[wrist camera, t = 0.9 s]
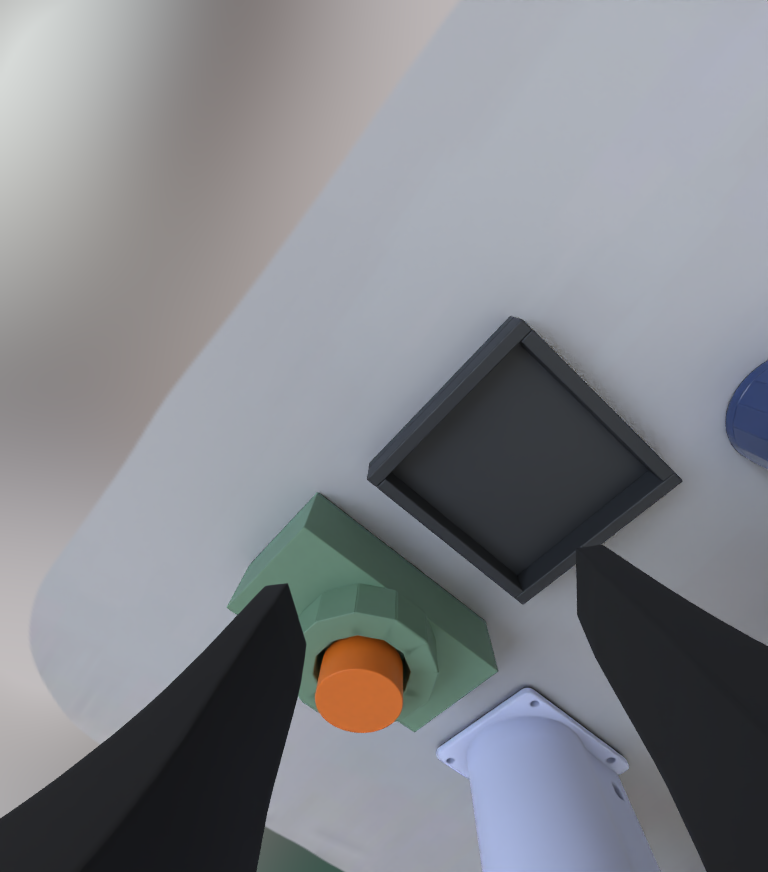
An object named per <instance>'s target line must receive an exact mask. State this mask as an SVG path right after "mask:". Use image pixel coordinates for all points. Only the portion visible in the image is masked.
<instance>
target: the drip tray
mask: <svg viewBox="0 0 768 872" xmlns="http://www.w3.org/2000/svg"><path fill="white" fill-rule="evenodd" d="M367 480H368V481H370V482H371V483H372V484H373V485H375V486H376V487H377V488H378V489H379V490H381V491H382V492H383V493H384V494H386V495H387V496H388V497H389V498H391V499H392V500H393V501H394V502H396V503H397V504H398V505H399V506H401V507H402V508H403V509H404V510H406V511H407V512H408V513H409V514H411V515H412V516H413V517H414V518H416V519H417V520H418V521H419V522H421V523H422V524H423V525H424V526H426V527H427V528H428V529H429V530H431V531H432V532H433V533H434V534H436V535H437V536H438V537H439V538H440V539H442V540H443V541H444V542H445V543H447V544H448V545H449V546H450V547H452V548H453V549H454V550H455V551H457V552H458V553H459V554H460V555H462V556H463V557H464V558H465V559H467V560H468V561H469V562H470V563H472V564H473V565H474V566H475V567H477V568H478V569H479V570H480V571H482V572H483V573H484V574H485V575H487V576H488V577H489V578H490V579H492V580H493V581H494V582H495V583H497V584H498V585H499V586H500V587H501V588H503V589H504V590H505V591H506V592H508V593H509V594H510V595H511V596H513V597H514V598H515V599H516V600H518V601H519V602H520V603H521V604H525V603H526V602H527V601H529V600H530V599H531V598H532V597H534V596H535V595H536V594H538V593H539V592H540V591H541V590H543V589H544V588H545V587H547V586H548V585H549V584H551V583H552V582H553V581H554V580H556V579H557V578H558V577H560V576H561V575H562V574H563V573H565V572H566V571H567V570H569V569H570V568H571V567H573V566H574V565H575V564H576V548H581V547H589V546H597V545H601V544H602V543H604V542H605V541H606V540H607V539H609V538H610V537H611V536H613V535H614V534H615V533H616V532H618V531H619V530H620V529H622V528H623V527H624V526H625V525H627V524H628V523H629V522H631V521H632V520H633V519H635V518H636V517H637V516H638V515H640V514H641V513H642V512H644V511H645V510H646V509H647V508H649V507H650V506H651V505H653V504H654V503H655V502H657V501H658V500H659V499H660V498H662V497H663V496H664V495H666V494H667V493H668V492H669V491H671V490H672V489H673V488H675V487H676V486H677V485H678V484H680V483H681V482H682V479H681V478H680V477H679V476H678V475H677V474H676V473H675V472H674V471H673V470H672V469H671V468H670V467H669V466H668V465H667V464H666V463H665V462H664V461H663V460H662V459H661V458H660V457H659V456H658V455H657V454H656V453H655V452H654V451H653V450H652V449H651V448H650V447H649V446H648V445H647V444H646V443H645V442H644V441H643V440H642V439H641V438H640V437H639V436H638V435H637V434H636V433H635V432H634V431H633V430H632V429H631V428H630V427H629V426H628V425H627V424H626V423H625V422H624V421H623V420H622V419H621V418H620V417H619V416H618V415H617V414H616V413H615V412H614V411H613V410H612V409H611V408H610V407H609V406H608V405H607V404H606V403H605V402H604V401H603V400H602V399H601V398H600V397H599V396H598V395H597V394H596V393H595V392H594V391H593V390H592V389H591V388H590V387H589V386H588V385H587V384H586V383H585V382H584V381H583V380H582V379H581V378H580V377H579V376H578V375H577V374H576V373H575V372H574V371H573V370H572V369H571V368H570V367H569V366H568V365H567V364H566V363H565V362H564V361H563V360H562V359H561V358H560V357H559V356H558V355H557V353H556V352H555V351H554V350H553V349H552V348H551V347H550V346H549V345H548V344H547V343H546V342H545V341H544V340H543V339H542V338H541V337H540V336H539V335H538V334H537V333H536V332H535V331H534V330H532V329H531V327H530V326H529V325H528V324H527V323H526V322H525V321H524V320H522V319H518V318H515V317H512V316H510V317H509V318H508V319H507V320H506V321H505V322H504V323H503V324H502V325H501V326H500V328H499V329H498V330H497V331H496V332H495V333H494V334H493V335H492V336H491V337H490V338H489V339H488V340H487V341H486V342H485V343H484V344H483V345H482V346H481V347H480V348H479V349H478V350H477V352H476V353H475V354H474V355H473V356H472V357H471V358H470V359H469V360H468V361H467V362H466V363H465V364H464V365H463V366H462V367H461V368H460V369H459V370H458V371H457V372H456V373H455V374H454V376H453V377H452V378H451V379H450V380H449V381H448V382H447V383H446V384H445V385H444V386H443V387H442V388H441V389H440V390H439V391H438V392H437V393H436V394H435V395H434V396H433V397H432V398H431V400H430V401H429V402H428V403H427V404H426V405H425V406H424V407H423V408H422V409H421V410H420V411H419V412H418V413H417V414H416V415H415V416H414V417H413V418H412V419H411V420H410V421H409V423H408V424H407V425H406V426H405V427H404V428H403V429H402V430H401V431H400V432H399V433H398V434H397V435H396V436H395V437H394V438H393V439H392V440H391V441H390V442H389V443H388V444H387V445H386V447H385V448H384V449H383V450H382V451H381V452H380V453H379V454H378V455H377V456H376V457H375V458H374V459H373V460H372V461H371V462H370V464H369V470H368V476H367Z"/></svg>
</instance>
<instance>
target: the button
mask: <svg viewBox="0 0 768 872" xmlns="http://www.w3.org/2000/svg"><path fill="white" fill-rule="evenodd" d="M315 703H316V707H317V709H318V711H319V713H320V714H321V716H322V717H323V718H324V719H325V720H326V721H327V722H329V723H330V724H332V725H334V726H335V727H337V728H340V729H342V730H346V731H350V732H356V733H367V732H374V731H378V730H381V729H383V728H385V727H387V726H389V725H390V724H392V723H393V722H394V721H395V720H396V719H397V718H398V716H399V715H400V713H401V711H402V707H403V664H402V660H401V657H400V655H399V653H398V652H397V651H396V649H395V648H394V647H393V646H392V645H390V644H389V643H387V642H386V641H384V640H380V639H375V638H370V637H364V636H359V635H357V636H353V637H348V638H344V639H340V640H337V641H335V642H334V643H333V644H331V645H330V646H329V647H328V649H327V650H326V651H325V653H324V656H323V659H322V664H321V668H320V673H319V678H318V683H317V688H316V693H315Z"/></svg>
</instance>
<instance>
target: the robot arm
mask: <svg viewBox="0 0 768 872" xmlns="http://www.w3.org/2000/svg"><path fill="white" fill-rule="evenodd" d="M576 577H577V615H578V618H579V620H580V623H581V625H582V628H583V630H584V632H585V635H586V637H587V640H588V642H589V644H590V646H591V649H592V651H593V653H594V656H595V658H596V660H597V661H598V663H599V665H600V667H601V669H602V670H603V672H604V674H605V676H606V678H607V679H608V681H609V683H610V685H611V687H612V688H613V690H614V692H615V694H616V695H617V697H618V699H619V701H620V702H621V704H622V706H623V708H624V709H625V711H626V713H627V715H628V716H629V718H630V720H631V722H632V724H633V725H634V727H635V729H636V731H637V732H638V734H639V736H640V738H641V739H642V741H643V743H644V745H645V746H646V748H647V750H648V752H649V753H650V755H651V757H652V759H653V761H654V762H655V764H656V766H657V768H658V770H659V772H660V774H661V776H662V778H663V780H664V781H665V783H666V785H667V787H668V789H669V791H670V794H671V796H672V798H673V800H674V802H675V804H676V806H677V808H678V811H679V813H680V815H681V817H682V819H683V821H684V823H685V826H686V828H687V830H688V832H689V834H690V836H691V838H692V841H693V843H694V845H695V847H696V849H697V851H698V854H699V856H700V858H701V860H702V863H703V865H704V867H705V869H706V871H707V872H768V646H766V645H764V644H762V643H761V642H759V641H757V640H755V639H753V638H751V637H749V636H748V635H746V634H744V633H742V632H741V631H739V630H737V629H735V628H734V627H732V626H730V625H728V624H727V623H725V622H723V621H721V620H720V619H718V618H716V617H714V616H713V615H711V614H709V613H707V612H706V611H704V610H702V609H701V608H699V607H698V606H696V605H694V604H693V603H691V602H689V601H688V600H686V599H684V598H683V597H681V596H680V595H678V594H676V593H675V592H673V591H672V590H670V589H669V588H667V587H665V586H664V585H662V584H661V583H659V582H658V581H656V580H655V579H653V578H652V577H650V576H649V575H647V574H646V573H644V572H643V571H641V570H640V569H638V568H636V567H635V566H633V565H632V564H630V563H629V562H628V561H626V560H625V559H623V558H622V557H620V556H619V555H617V554H615V553H614V552H612V551H611V550H609V549H608V548H606V547H605V546H603V545H597V546H589V547H581V548H576ZM306 645H307V644H306V640H305V637H304V634H303V631H302V627H301V624H300V621H299V618H298V614H297V611H296V608H295V605H294V601H293V598H292V595H291V592H290V588H289V585H288V583H284V584H276V585H267V586H265V587H264V588H263V589H262V590H261V591H260V592H259V593H258V594H257V595H256V596H255V597H254V598H253V599H252V600H251V601H250V602H249V603H248V604H247V605H246V606H245V608H244V609H243V610H242V611H241V612H240V613H239V614H238V615H237V616H236V617H235V618H234V620H233V621H232V622H231V623H230V624H229V625H228V626H227V627H226V628H225V629H224V630H223V631H222V632H221V633H220V634H219V636H218V637H217V638H216V639H215V640H214V641H213V642H212V643H211V644H210V645H209V646H208V647H207V648H206V649H205V650H204V651H203V652H202V653H201V654H200V655H199V656H198V657H197V658H196V659H195V660H194V661H193V662H192V663H191V664H190V665H189V666H188V667H187V668H186V669H185V670H184V671H183V672H182V673H181V674H180V675H179V676H178V677H177V678H176V679H175V680H174V681H173V682H172V683H171V684H170V685H169V686H168V687H167V688H166V689H165V690H164V691H163V692H161V693H160V694H159V695H158V696H157V697H156V698H155V699H154V700H153V701H152V702H150V703H149V704H148V705H147V706H146V707H145V708H144V709H143V710H141V711H140V712H139V713H138V714H137V715H136V716H134V717H133V718H132V719H131V720H130V721H129V722H128V723H126V724H125V725H124V726H123V727H122V728H121V729H119V730H118V731H117V732H116V733H114V734H113V735H112V736H111V737H110V738H108V739H107V740H106V741H104V742H103V743H102V744H101V745H99V746H98V747H97V748H96V749H94V750H93V751H92V752H91V753H89V754H88V755H87V756H85V757H84V758H83V759H82V760H80V761H79V762H78V763H76V764H75V765H74V766H73V767H71V768H70V769H69V770H67V771H66V772H65V773H64V774H62V775H61V776H60V777H58V778H57V779H56V780H54V781H53V782H51V783H50V784H49V785H47V786H46V787H45V788H43V789H42V790H40V791H39V792H38V793H36V794H35V795H33V796H32V797H31V798H29V799H28V800H26V801H25V802H24V803H22V804H21V805H19V806H18V807H17V808H15V809H14V810H12V811H11V812H9V813H8V814H6V815H5V816H3V817H2V818H0V872H256V870H257V865H258V860H259V854H260V849H261V843H262V838H263V833H264V827H265V822H266V816H267V812H268V808H269V803H270V799H271V795H272V791H273V787H274V783H275V779H276V776H277V772H278V768H279V765H280V761H281V757H282V754H283V750H284V746H285V742H286V739H287V735H288V731H289V728H290V724H291V720H292V717H293V713H294V709H295V705H296V701H297V698H298V694H299V690H300V686H301V680H302V673H303V667H304V660H305V652H306ZM437 758H438V759H439V760H440V761H442V762H443V763H445V764H446V765H448V766H449V767H451V768H452V769H454V770H455V771H457V772H458V773H460V774H461V775H463V776H464V777H466V778H467V779H469V780H470V786H471V793H472V800H473V808H474V815H475V822H476V829H477V836H478V843H479V850H480V857H481V864H482V871H483V872H661V870H660V868H659V866H658V864H657V861H656V859H655V857H654V855H653V852H652V850H651V848H650V846H649V843H648V841H647V839H646V837H645V835H644V832H643V830H642V828H641V826H640V823H639V821H638V819H637V817H636V814H635V812H634V810H633V808H632V805H631V803H630V801H629V799H628V796H627V794H626V792H625V790H624V787H623V785H622V783H621V781H620V778H619V776H618V775H620V774H622V773H623V772H625V771H627V770H628V768H629V764H628V762H627V760H626V759H625V758H624V757H623V756H622V755H620V754H619V753H618V752H616V751H615V750H614V749H612V748H611V747H610V746H608V745H607V744H606V743H604V742H603V741H602V740H600V739H599V738H598V737H596V736H595V735H594V734H592V733H591V732H590V731H588V730H587V729H586V728H584V727H583V726H582V725H580V724H579V723H578V722H576V721H575V720H574V719H572V718H571V717H570V716H568V715H567V714H566V713H564V712H563V711H562V710H560V709H559V708H558V707H556V706H555V705H554V704H552V703H551V702H550V701H548V700H547V699H546V698H544V697H543V696H542V695H540V694H539V693H538V692H536V691H535V690H534V689H531V688H523V689H522V690H520V691H519V692H517V693H516V694H514V695H513V696H511V697H510V698H509V699H507V700H506V701H504V702H503V703H501V704H500V705H499V706H497V707H496V708H494V709H493V710H491V711H490V712H489V713H487V714H486V715H484V716H483V717H481V718H480V719H479V720H477V721H476V722H474V723H473V724H471V725H470V726H469V727H467V728H466V729H464V730H463V731H461V732H460V733H459V734H457V735H456V736H454V737H453V738H451V739H450V740H449V741H447V742H446V743H444V744H443V745H441V746H440V747H439V748H438V749H437Z"/></svg>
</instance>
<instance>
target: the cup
mask: <svg viewBox="0 0 768 872" xmlns="http://www.w3.org/2000/svg"><path fill="white" fill-rule="evenodd" d="M726 431H727V435H728V438H729V440H730V442H731V444H732V445H733V447H734V448H735V449H736V450H737V451H738V452H739V453H740V454H741V455H743V456H744V457H746V458H748V459H749V460H750V461H752V462H754V463H756V464H758V465H760V466H762V467H764V468H766V469H768V361H766V362H764V363H763V364H761V365H760V366H759V367H757V368H756V369H755V370H753V371H752V372H751V373H750V374H749V375H748V376H747V377H746V378H745V379H744V380H743V381H742V383H741V384H740V385H739V387H738V388H737V389H736V391H735V393H734V395H733V396H732V398H731V401H730V403H729V406H728V409H727V414H726Z"/></svg>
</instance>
